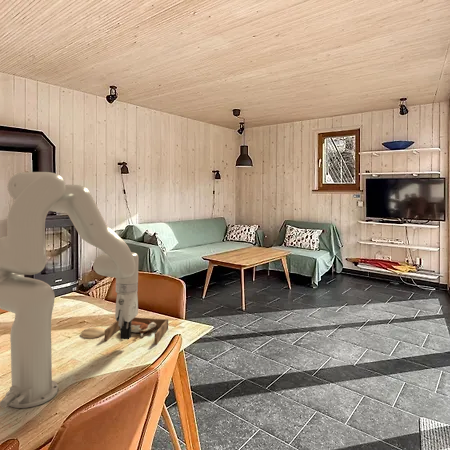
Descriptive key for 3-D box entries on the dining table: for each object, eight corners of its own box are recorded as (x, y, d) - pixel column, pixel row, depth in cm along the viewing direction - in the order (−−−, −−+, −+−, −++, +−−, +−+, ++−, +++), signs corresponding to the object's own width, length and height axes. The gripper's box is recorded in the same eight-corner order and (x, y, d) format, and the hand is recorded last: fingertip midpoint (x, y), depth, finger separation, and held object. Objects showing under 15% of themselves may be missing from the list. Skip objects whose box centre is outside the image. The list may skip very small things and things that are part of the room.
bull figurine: (152, 327, 137) (158, 319, 145) (117, 325, 138) (125, 317, 146) (152, 338, 138) (157, 330, 146) (117, 336, 138) (125, 328, 147)
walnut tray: (156, 344, 132) (156, 334, 131) (104, 340, 134) (104, 330, 133) (168, 329, 147) (168, 319, 147) (121, 325, 149) (121, 316, 149)
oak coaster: (99, 339, 135) (99, 336, 135) (76, 337, 136) (76, 335, 136) (109, 330, 144) (109, 328, 144) (88, 328, 145) (88, 326, 145)
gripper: (129, 293, 120) (127, 347, 121) (144, 283, 135) (142, 331, 136) (107, 291, 121) (106, 345, 122) (124, 282, 135) (123, 330, 136)
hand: (125, 338), depth 129 cm, fingers closed
